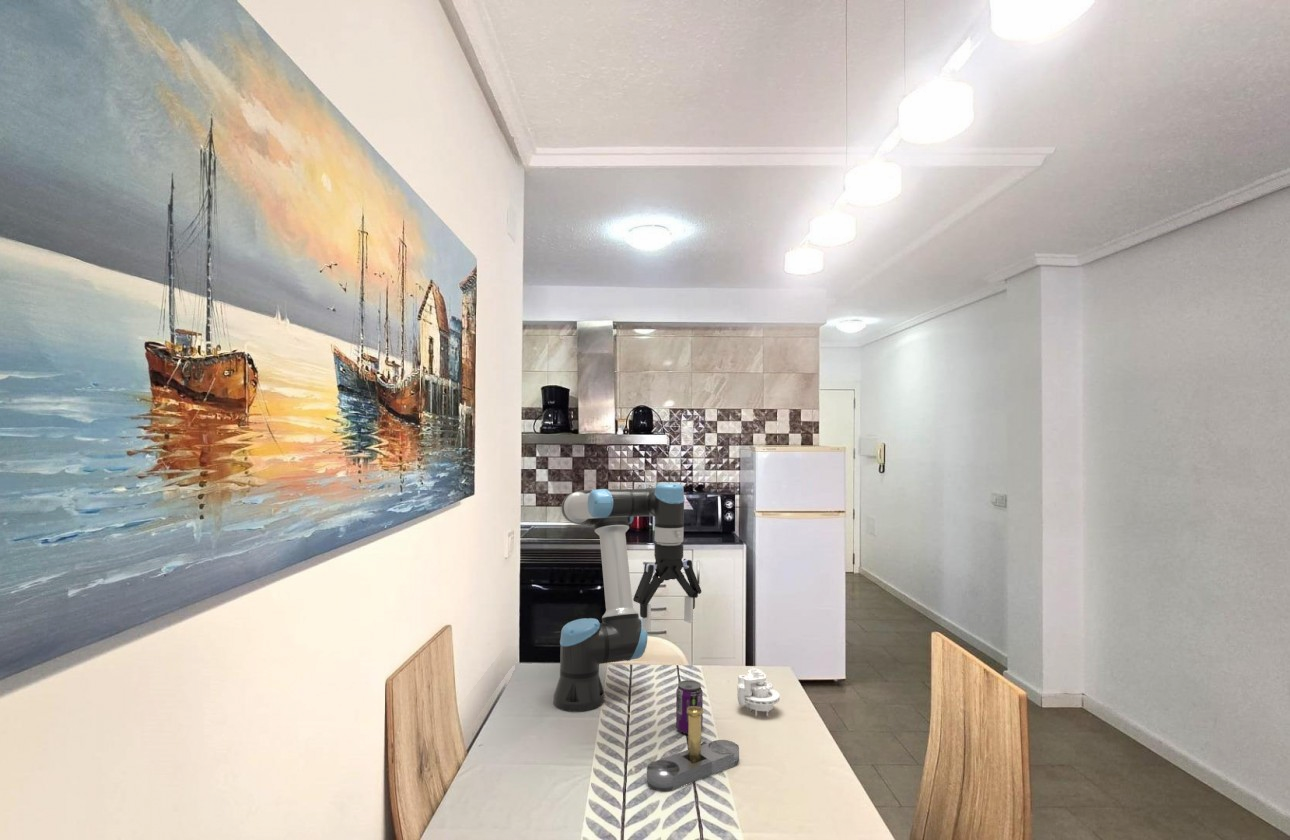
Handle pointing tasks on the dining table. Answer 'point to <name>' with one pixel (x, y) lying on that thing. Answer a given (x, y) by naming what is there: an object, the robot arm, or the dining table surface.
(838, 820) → the dining table surface
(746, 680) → the mechanical part
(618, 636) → the robot arm
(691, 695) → the beverage can
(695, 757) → the pin
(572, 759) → the dining table surface
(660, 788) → the slotted metal plate
